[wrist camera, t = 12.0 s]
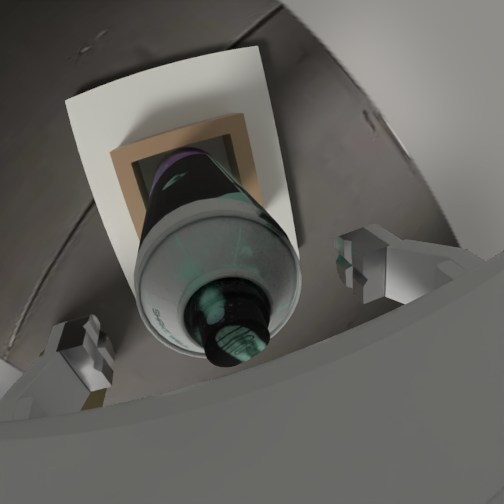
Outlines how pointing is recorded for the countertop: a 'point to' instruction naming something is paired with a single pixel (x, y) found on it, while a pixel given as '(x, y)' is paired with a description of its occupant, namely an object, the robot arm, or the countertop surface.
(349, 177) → the countertop surface
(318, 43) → the countertop surface
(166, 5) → the countertop surface
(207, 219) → the spray can
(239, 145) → the socket board
